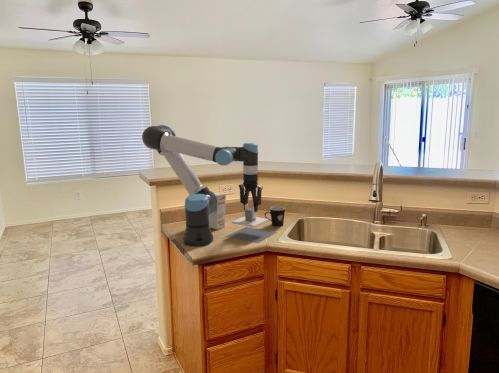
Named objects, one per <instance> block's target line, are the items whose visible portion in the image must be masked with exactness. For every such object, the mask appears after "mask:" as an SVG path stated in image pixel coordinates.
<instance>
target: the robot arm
mask: <svg viewBox="0 0 499 373" xmlns="http://www.w3.org/2000/svg"><path fill="white" fill-rule="evenodd" d="M141 140H142V143H143V145H144V146H145V147H147V148H148V149H150V150H155V151H157V153H158V155H160V156H163V157H164V158H165V160H166V161H167V163H168V164H169V166H170V167H171V169H172V171H173V172H174V173H175V175H176V176H177V178H178V179H179V181H180V182H181V184H182V185H183V187H184V188H185V190H186V191H187V193H188V196H186V198H185V199H184V211H185V212H184V213H185V230H184V233H183V234H184V235H183V236H182V237H183V238H182V240H183V241H182V242H183V244H184V245H186V246H190V247H202V246H207V245H210V244H212V243H213V242H214V234H213V233H212V230H211V229H212V228H210V226H209V214H210V213H212V212H213V211H214V210H215V209H216V207H217V204H218V199H217V196H216V195H215V194H214V193H213V192H214V191H211V190H210V189H209V187H208V186H207V185H204V184H203V183H202V182H201V180H200V178H198V176H197V175H196V173H195V171H194V170H193V168H192V166H191V165H190V164H189V162H188V160H187V159H186V157H185V156H190V157H193V158H197V159H202V160H205V161H209V162H213V163H217V165H219V166H228V165H230V164H231V163H233V162H235V163H236V162H237V163H238V162H240V163H241V162H242V163H243V164H242V166H243V167H242V172H243V173H242V174H243V176H242V181H243V183H241V184H238V188H239V201H240V202H239V203H240V204H243V211H245V209H248V208H250V206H249V197H250V194H251V198H252V204H253V205H252V218H253V219H254V218H256V217H257V212H259V211H258V207H259V206H260V205H262V190H263V186H262V185H259V182H258V181H259V180H258V179H259V174H258V173H259V150H258V149H259V148H258V146H259V145H258V144H257V143H255V142H244V143H243V144H242V146H221V147H219V146H216V145H211V144H207V143H204V142H200V141H196V140H191V139H187V138H183V137H179V136H176V133H175V130H174V129H173V128H172V127H170V126H167V125H163V124H160V125H151V126H148V127H146V128H145V129H144V130H143V131H142V135H141ZM184 155H185V156H184Z"/></svg>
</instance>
